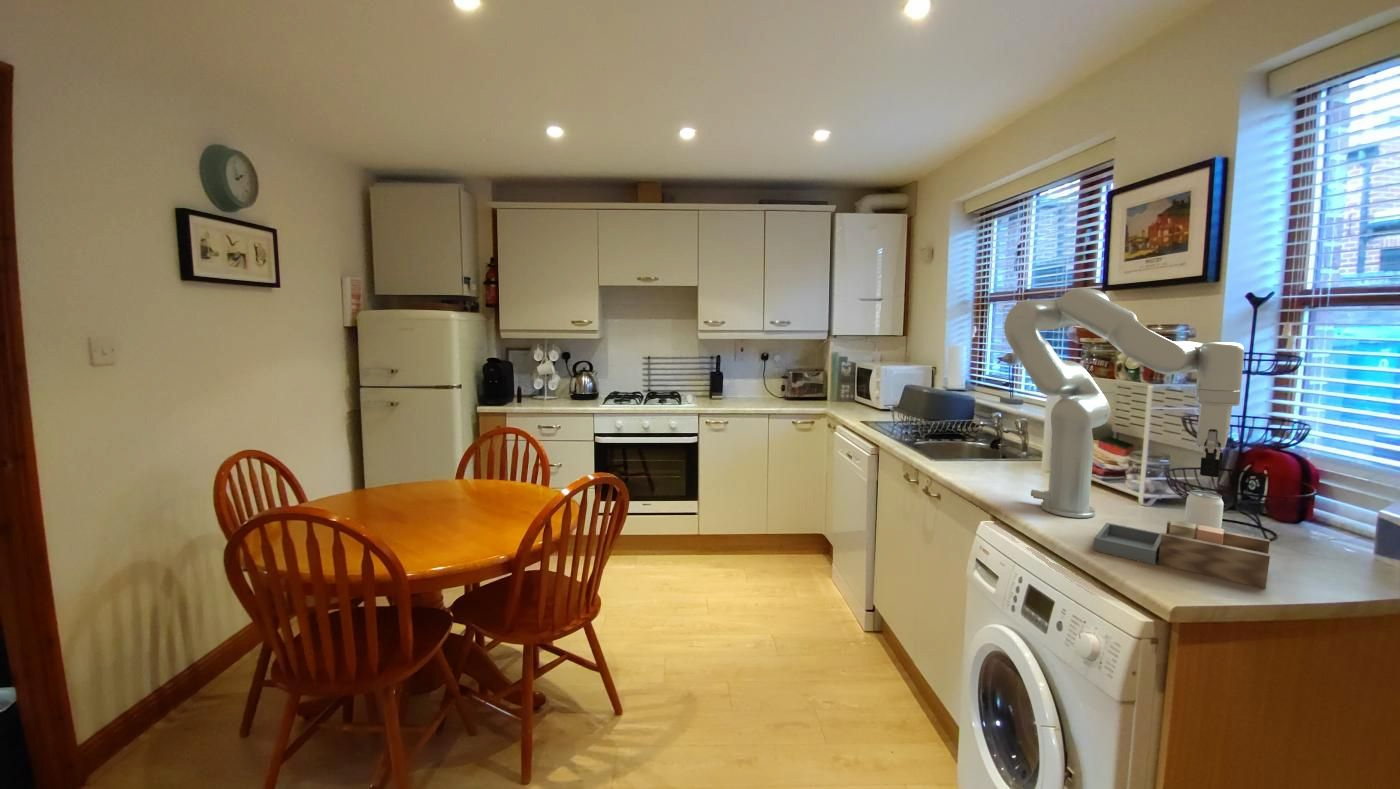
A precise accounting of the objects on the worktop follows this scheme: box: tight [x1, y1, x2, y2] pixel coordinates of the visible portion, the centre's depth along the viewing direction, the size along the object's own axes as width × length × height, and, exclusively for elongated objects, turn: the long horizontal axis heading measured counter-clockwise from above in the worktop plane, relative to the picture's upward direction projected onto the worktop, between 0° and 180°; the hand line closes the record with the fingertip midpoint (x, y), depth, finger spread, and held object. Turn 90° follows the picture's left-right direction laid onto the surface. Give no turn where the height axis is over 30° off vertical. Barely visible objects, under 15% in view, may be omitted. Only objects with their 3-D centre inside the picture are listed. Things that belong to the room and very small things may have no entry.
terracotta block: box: [1197, 525, 1225, 545], centre depth 123 cm, size 4×4×4 cm
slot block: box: [1157, 520, 1271, 589], centre depth 122 cm, size 16×12×6 cm
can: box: [1183, 490, 1225, 529], centre depth 135 cm, size 6×6×12 cm
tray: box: [1093, 522, 1163, 565], centre depth 132 cm, size 11×14×3 cm
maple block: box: [1169, 519, 1196, 539], centre depth 126 cm, size 4×4×4 cm
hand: (1210, 472), depth 133 cm, fingers open, 9 cm apart
